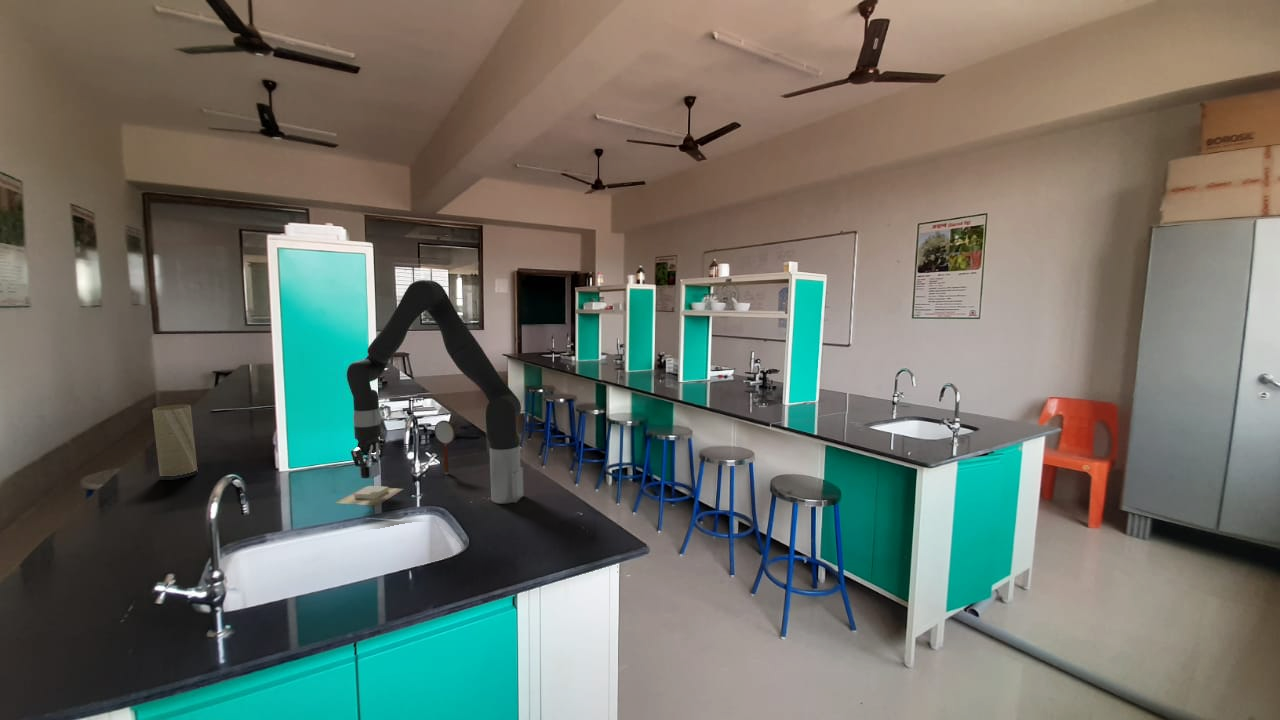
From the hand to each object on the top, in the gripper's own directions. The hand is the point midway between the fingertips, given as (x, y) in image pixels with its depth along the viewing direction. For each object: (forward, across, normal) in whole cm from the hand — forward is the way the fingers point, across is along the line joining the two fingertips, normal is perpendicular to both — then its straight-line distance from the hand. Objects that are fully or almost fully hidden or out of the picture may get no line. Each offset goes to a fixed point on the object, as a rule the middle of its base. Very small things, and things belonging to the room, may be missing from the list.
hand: (370, 475), depth 165 cm
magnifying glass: (+7, +22, -14) cm, 27 cm away
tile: (+6, +4, 0) cm, 7 cm away
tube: (+8, +7, +80) cm, 81 cm away
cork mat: (+7, -1, 0) cm, 7 cm away
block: (0, 0, 0) cm, 0 cm away
